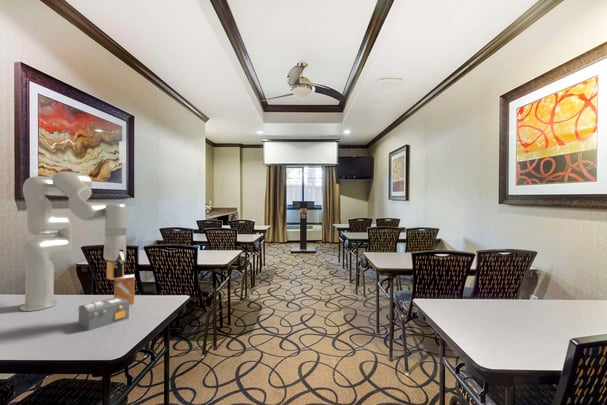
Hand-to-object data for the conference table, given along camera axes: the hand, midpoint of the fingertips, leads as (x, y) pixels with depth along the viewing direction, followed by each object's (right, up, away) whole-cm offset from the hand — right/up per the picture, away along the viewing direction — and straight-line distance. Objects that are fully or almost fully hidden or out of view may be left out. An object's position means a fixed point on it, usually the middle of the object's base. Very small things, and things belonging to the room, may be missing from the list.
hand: (115, 275), depth 116 cm
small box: (-7, -18, +17) cm, 26 cm away
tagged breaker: (0, -16, 0) cm, 16 cm away
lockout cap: (0, -1, 0) cm, 1 cm away
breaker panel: (-2, -18, -3) cm, 18 cm away
